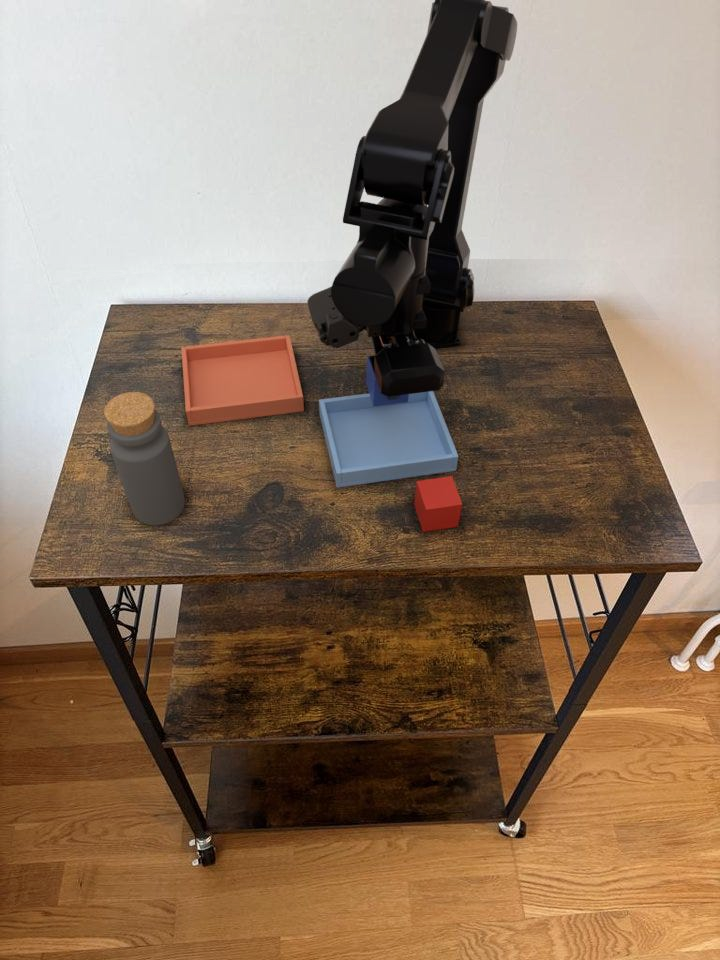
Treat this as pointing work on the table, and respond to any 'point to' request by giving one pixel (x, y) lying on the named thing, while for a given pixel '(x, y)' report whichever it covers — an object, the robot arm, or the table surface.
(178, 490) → the bottle
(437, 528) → the red block
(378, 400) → the blue block
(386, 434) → the blue tray
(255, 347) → the orange tray
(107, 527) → the table surface
